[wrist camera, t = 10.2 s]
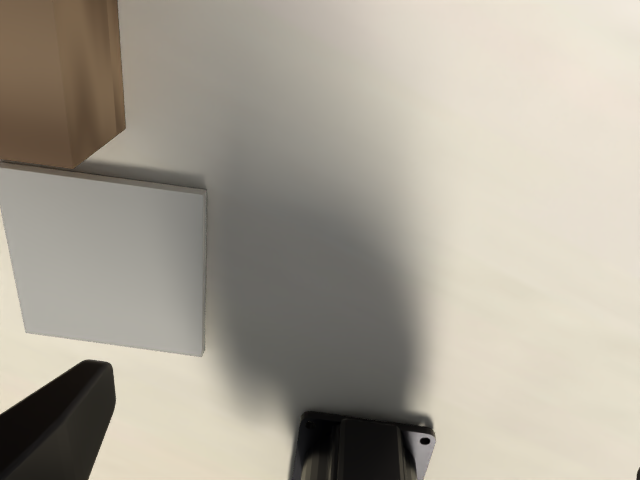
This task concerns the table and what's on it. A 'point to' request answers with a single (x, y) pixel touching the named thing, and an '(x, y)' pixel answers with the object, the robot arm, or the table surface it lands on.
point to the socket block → (59, 80)
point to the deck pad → (107, 258)
